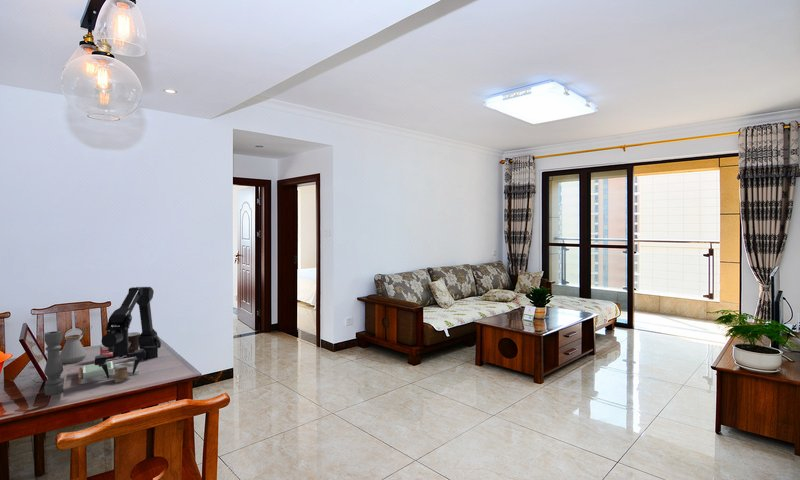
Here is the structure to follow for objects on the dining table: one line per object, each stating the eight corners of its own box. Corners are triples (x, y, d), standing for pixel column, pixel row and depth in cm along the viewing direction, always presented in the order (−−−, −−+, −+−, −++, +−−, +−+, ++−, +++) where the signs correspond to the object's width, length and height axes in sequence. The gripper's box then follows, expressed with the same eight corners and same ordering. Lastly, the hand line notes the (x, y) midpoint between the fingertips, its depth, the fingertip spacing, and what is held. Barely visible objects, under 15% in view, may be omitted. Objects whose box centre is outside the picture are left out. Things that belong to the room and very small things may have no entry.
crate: (112, 369, 199) (112, 361, 199) (113, 377, 190) (113, 368, 190) (83, 374, 193) (83, 365, 193) (83, 382, 183) (82, 373, 183)
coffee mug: (144, 351, 233) (144, 333, 233) (129, 355, 225) (129, 336, 225) (128, 348, 237) (128, 331, 237) (113, 353, 229) (113, 334, 229)
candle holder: (51, 389, 177) (50, 330, 177) (67, 389, 178) (66, 330, 177) (40, 395, 171) (39, 334, 170) (56, 395, 172) (55, 334, 171)
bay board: (135, 367, 207) (135, 359, 206) (138, 376, 194) (138, 368, 194) (79, 376, 194) (79, 367, 194) (78, 387, 181) (78, 377, 181)
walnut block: (126, 380, 189) (126, 366, 189) (127, 383, 186) (127, 369, 186) (114, 382, 187) (114, 368, 187) (115, 385, 183) (114, 371, 183)
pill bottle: (100, 362, 213) (99, 341, 213) (100, 359, 218) (99, 338, 218) (114, 360, 216) (114, 339, 216) (114, 357, 221) (114, 336, 221)
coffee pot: (78, 364, 210) (78, 334, 210) (53, 365, 208) (52, 335, 208) (102, 351, 231) (101, 324, 231) (79, 352, 229) (78, 325, 229)
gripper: (143, 334, 198) (143, 367, 198) (94, 340, 187) (94, 375, 187) (145, 339, 189) (146, 374, 189) (94, 346, 178) (94, 382, 178)
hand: (120, 376), depth 186 cm, fingers open, 9 cm apart
